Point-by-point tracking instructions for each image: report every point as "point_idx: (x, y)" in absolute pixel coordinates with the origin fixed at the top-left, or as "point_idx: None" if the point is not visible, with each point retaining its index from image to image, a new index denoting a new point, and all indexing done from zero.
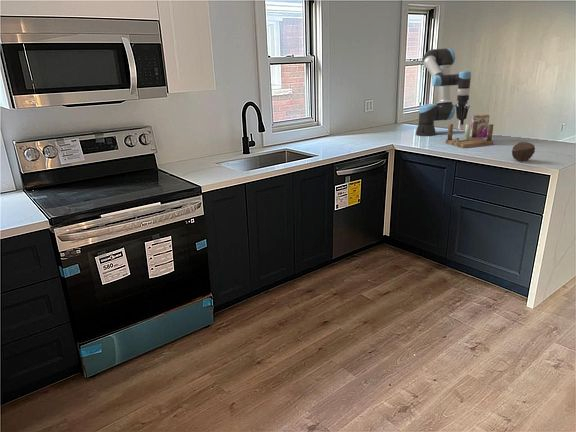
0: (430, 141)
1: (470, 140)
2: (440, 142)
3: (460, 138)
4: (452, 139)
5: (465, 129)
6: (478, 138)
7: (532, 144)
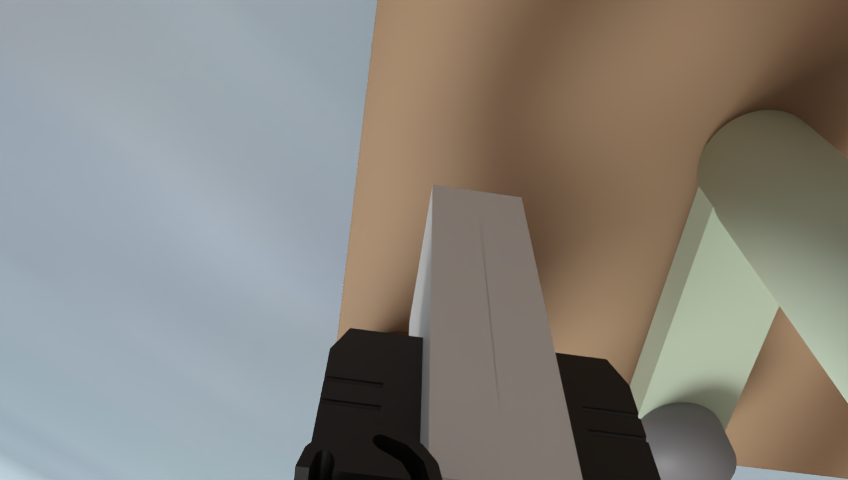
0: (21, 442)
1: (831, 80)
2: (215, 379)
3: (435, 69)
4: (406, 303)
5: None
6: None
7: None
